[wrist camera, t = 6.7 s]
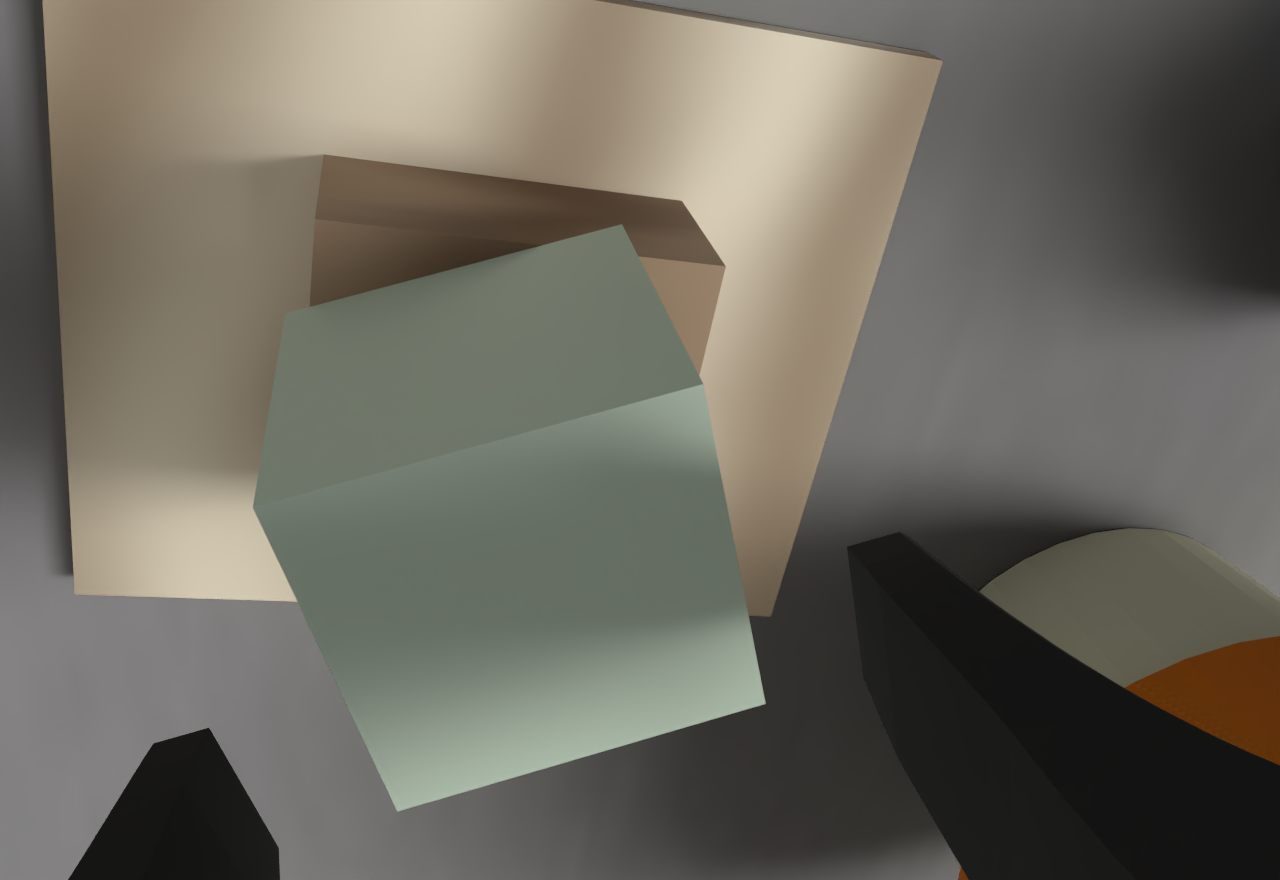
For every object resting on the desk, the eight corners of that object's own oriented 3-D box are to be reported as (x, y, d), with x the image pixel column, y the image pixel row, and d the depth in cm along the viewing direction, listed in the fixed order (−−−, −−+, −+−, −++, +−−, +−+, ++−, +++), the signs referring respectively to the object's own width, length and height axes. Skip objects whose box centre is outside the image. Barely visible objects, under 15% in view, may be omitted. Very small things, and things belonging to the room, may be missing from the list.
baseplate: (928, 52, 20) (1026, 107, 17) (763, 599, 26) (814, 712, 23) (47, -102, 16) (-28, -68, 13) (81, 575, 22) (34, 706, 19)
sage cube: (622, 224, 17) (703, 384, 13) (682, 496, 19) (765, 703, 15) (285, 313, 16) (253, 507, 12) (393, 577, 19) (397, 811, 15)
